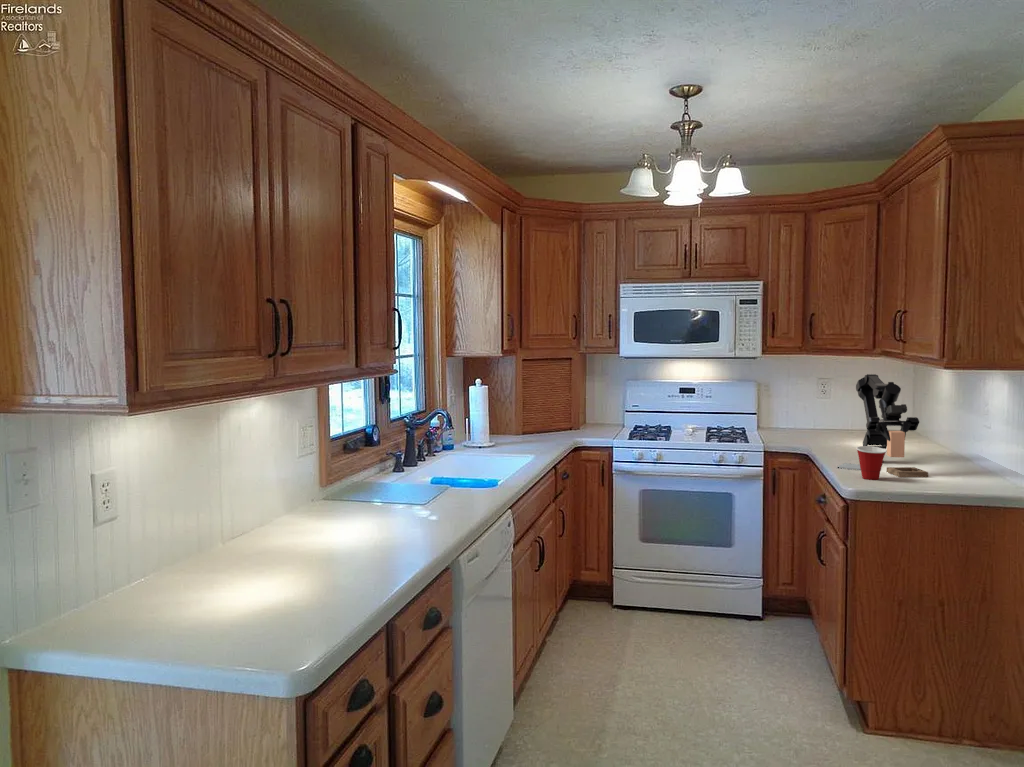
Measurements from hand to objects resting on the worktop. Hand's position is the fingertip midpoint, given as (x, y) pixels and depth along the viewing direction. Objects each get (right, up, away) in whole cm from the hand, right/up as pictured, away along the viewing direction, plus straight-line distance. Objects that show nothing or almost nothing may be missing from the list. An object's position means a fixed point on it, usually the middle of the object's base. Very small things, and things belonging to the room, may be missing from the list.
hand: (896, 440), depth 295 cm
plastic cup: (-14, -15, -7) cm, 21 cm away
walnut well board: (+4, -14, 0) cm, 14 cm away
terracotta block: (0, -6, +2) cm, 7 cm away
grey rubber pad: (-9, -13, +17) cm, 23 cm away
